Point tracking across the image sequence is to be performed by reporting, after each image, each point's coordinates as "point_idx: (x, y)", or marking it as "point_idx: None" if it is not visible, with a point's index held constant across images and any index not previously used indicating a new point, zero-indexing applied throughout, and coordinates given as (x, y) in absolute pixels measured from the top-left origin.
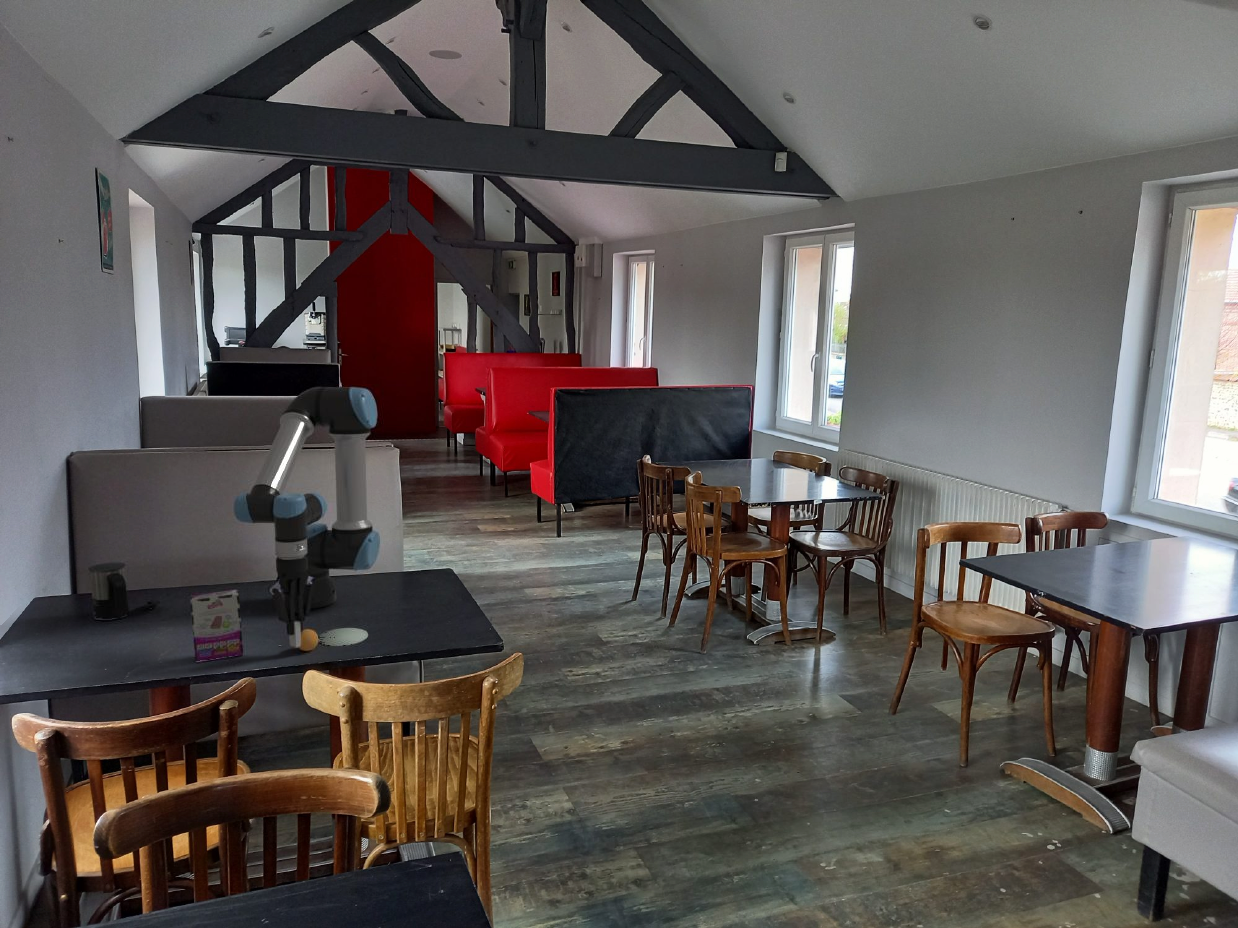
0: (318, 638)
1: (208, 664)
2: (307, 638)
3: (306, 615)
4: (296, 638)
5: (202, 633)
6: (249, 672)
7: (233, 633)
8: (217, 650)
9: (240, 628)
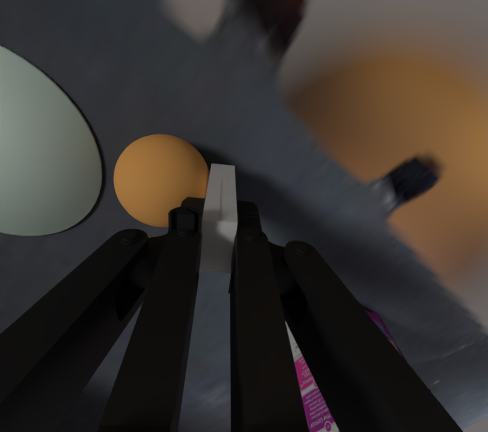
0: (83, 211)
1: (377, 293)
2: (183, 158)
3: (142, 233)
4: (232, 180)
5: None
6: (402, 176)
7: None
8: None
9: None
